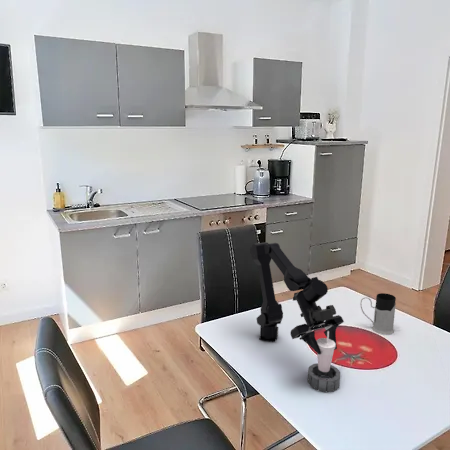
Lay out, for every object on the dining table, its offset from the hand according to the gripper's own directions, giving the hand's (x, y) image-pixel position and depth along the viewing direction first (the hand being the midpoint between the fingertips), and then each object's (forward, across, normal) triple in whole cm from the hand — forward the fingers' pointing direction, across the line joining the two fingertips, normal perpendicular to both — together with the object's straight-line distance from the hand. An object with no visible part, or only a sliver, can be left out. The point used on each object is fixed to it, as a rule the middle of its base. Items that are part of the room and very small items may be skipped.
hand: (328, 351), depth 132 cm
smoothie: (+4, 0, +6) cm, 7 cm away
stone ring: (+8, 0, +9) cm, 12 cm away
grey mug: (-6, +45, +24) cm, 51 cm away
